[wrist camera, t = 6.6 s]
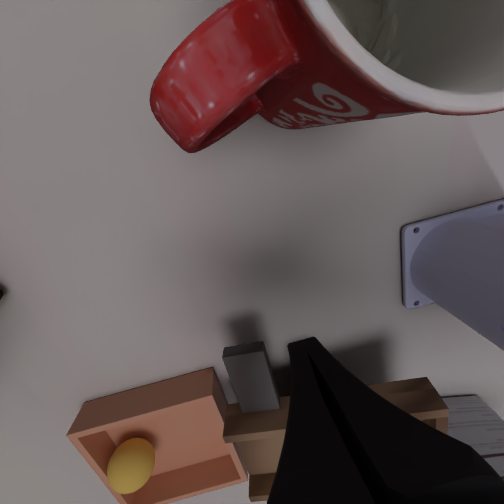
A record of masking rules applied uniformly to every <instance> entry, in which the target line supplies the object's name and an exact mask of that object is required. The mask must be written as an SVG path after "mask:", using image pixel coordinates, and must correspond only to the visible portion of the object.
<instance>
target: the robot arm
mask: <svg viewBox="0 0 504 504" xmlns="http://www.w3.org/2000/svg"><path fill="white" fill-rule="evenodd" d="M498 206H499V207H498ZM414 228H416V230H415V231H414V232H413V230H414ZM402 269H403V304H404V306H405V307H406V308H407V309H413V308H416V307H420V306H424V305H427V304H431V303H434V302H435V303H437V304H438V305H440V306H441V307H442V308H444V309H445V310H447V311H448V312H450V313H451V314H452V315H454V316H455V317H457V318H458V319H459V320H461V321H462V322H464V323H465V324H467V325H468V326H469V327H471V328H472V329H474V330H475V331H477V332H478V333H479V334H481V335H482V336H484V337H485V338H487V339H488V340H489V341H491V342H492V343H494V344H495V345H497V346H498V347H499V348H501V349H502V350H504V199H501V200H498V201H494V202H490V203H487V204H483V205H479V206H476V207H472V208H468V209H464V210H461V211H457V212H453V213H450V214H446V215H442V216H439V217H435V218H431V219H427V220H424V221H420V222H416V223H413V224H409V225H406V226H405V227H404V228H403V229H402ZM415 301H416V302H415ZM414 302H415V303H414ZM287 347H288V351H289V355H290V364H291V389H290V403H289V412H288V419H287V426H286V431H285V437H284V442H283V447H282V451H281V455H280V459H279V463H278V467H277V471H276V474H275V478H274V481H273V484H272V487H271V491H270V494H269V497H268V500H267V504H504V480H503V479H502V478H501V477H500V476H499V474H498V473H497V472H496V471H495V470H494V469H493V467H492V466H491V465H490V464H489V463H488V462H487V461H486V460H485V459H484V458H483V457H482V456H481V455H480V454H479V453H478V452H476V451H475V450H474V449H473V448H472V447H471V446H470V445H468V444H466V443H463V442H461V441H459V440H457V439H455V438H453V437H451V436H449V435H447V434H445V433H443V432H441V431H439V430H437V429H435V428H433V427H431V426H429V425H428V424H426V423H424V422H422V421H420V420H419V419H417V418H415V417H414V416H412V415H410V414H409V413H407V412H405V411H404V410H402V409H400V408H399V407H397V406H395V405H394V404H392V403H391V402H389V401H388V400H386V399H385V398H383V397H382V396H380V395H379V394H378V393H376V392H375V391H373V390H372V389H371V388H369V387H368V386H367V385H365V384H364V383H363V382H362V381H360V380H359V379H358V378H357V377H355V376H354V375H353V374H352V373H351V372H349V371H348V370H347V369H346V368H345V367H344V366H343V365H342V364H341V363H339V362H338V361H337V360H336V359H335V358H334V357H333V356H332V355H331V354H330V353H329V352H328V351H327V350H326V349H325V348H324V347H323V345H322V344H321V343H320V342H319V341H318V340H317V338H315V337H311V338H307V339H304V340H300V341H296V342H293V343H289V344H288V346H287Z"/></svg>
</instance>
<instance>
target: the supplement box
mask: <svg viewBox="0 0 504 504" xmlns="http://www.w3.org/2000/svg"><path fill="white" fill-rule="evenodd" d="M442 399H443V401H444V402H445V404H446V405H447V407H448V408H449V418H448V433H447V435H449V436H451V437H453V438H455V439H457V440H459V441H461V442H463V443H466V444H468V445H470V446H471V447H472V448H473V449H474V450H475V451H476V452H478V453H479V454H480V455H481V456H482V457H483V458H484V459H485V460H486V461H487V462H488V463H489V464H490V465H491V466H492V467H493V469H494V470H495V471H496V472H497V473H498V474H499V476H500V477H501V478H502V479H503V480H504V421H503V420H502V419H501V418H500V417H499V416H498V415H497V414H496V413H495V412H494V411H493V410H492V409H491V408H490V407H489V406H488V405H487V404H486V403H485V402H484V401H483V400H482V399H481V398H480V397H479V396H463V397H449V398H442Z"/></svg>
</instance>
